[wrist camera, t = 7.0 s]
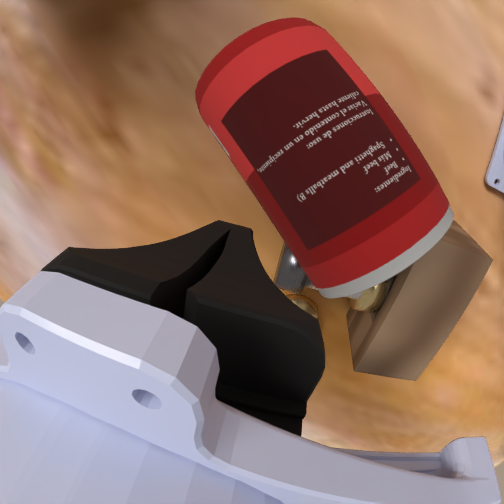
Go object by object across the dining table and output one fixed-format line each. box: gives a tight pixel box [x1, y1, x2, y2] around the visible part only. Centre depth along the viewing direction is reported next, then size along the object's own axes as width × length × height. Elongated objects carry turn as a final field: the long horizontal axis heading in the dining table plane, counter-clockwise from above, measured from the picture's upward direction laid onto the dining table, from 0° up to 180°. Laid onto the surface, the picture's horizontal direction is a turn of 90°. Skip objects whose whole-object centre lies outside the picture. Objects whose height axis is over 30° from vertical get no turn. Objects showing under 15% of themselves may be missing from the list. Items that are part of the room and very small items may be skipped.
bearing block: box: [346, 220, 493, 381], centre depth 19 cm, size 5×10×6 cm, turn 167°
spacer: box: [286, 294, 318, 319], centre depth 25 cm, size 4×4×1 cm
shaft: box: [274, 241, 397, 313], centre depth 19 cm, size 13×4×4 cm, turn 78°
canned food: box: [195, 18, 454, 299], centre depth 14 cm, size 8×8×11 cm
